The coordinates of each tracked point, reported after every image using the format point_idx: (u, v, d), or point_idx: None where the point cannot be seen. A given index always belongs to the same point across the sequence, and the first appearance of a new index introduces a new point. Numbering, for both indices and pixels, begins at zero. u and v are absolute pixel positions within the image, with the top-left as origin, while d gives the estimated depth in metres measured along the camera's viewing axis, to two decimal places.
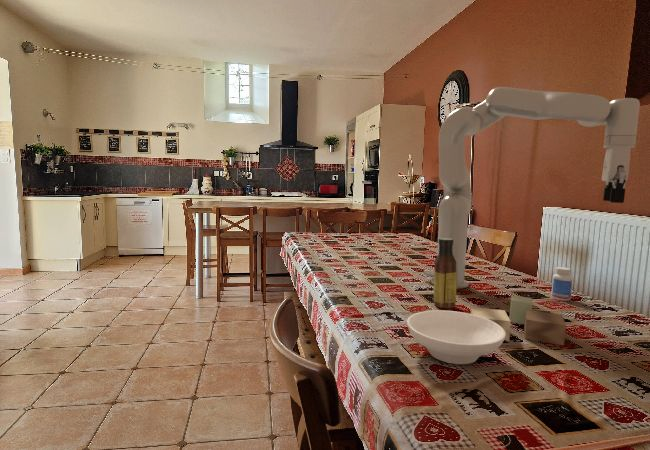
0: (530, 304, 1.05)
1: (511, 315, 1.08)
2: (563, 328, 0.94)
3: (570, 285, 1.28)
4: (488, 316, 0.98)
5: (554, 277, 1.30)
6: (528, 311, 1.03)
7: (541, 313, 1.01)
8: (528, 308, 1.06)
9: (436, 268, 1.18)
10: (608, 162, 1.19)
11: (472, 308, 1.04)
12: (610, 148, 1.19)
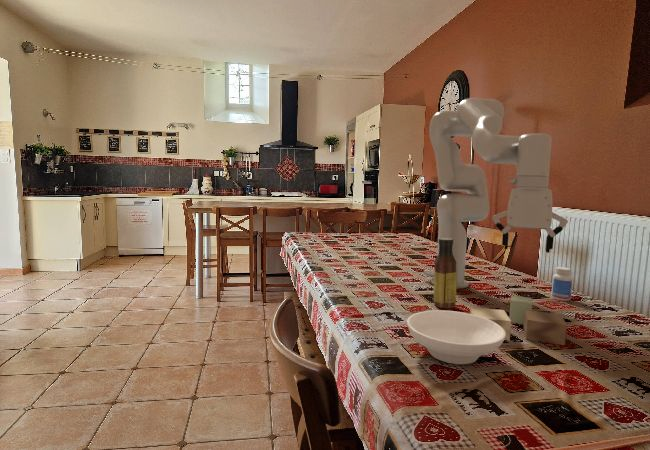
0: (530, 304, 1.06)
1: (511, 315, 1.08)
2: (564, 328, 0.94)
3: (570, 285, 1.28)
4: (488, 316, 0.98)
5: (554, 277, 1.30)
6: (527, 311, 1.02)
7: (540, 313, 1.01)
8: (528, 308, 1.06)
9: (436, 268, 1.18)
10: (544, 207, 1.02)
11: (472, 308, 1.03)
12: (543, 191, 1.02)
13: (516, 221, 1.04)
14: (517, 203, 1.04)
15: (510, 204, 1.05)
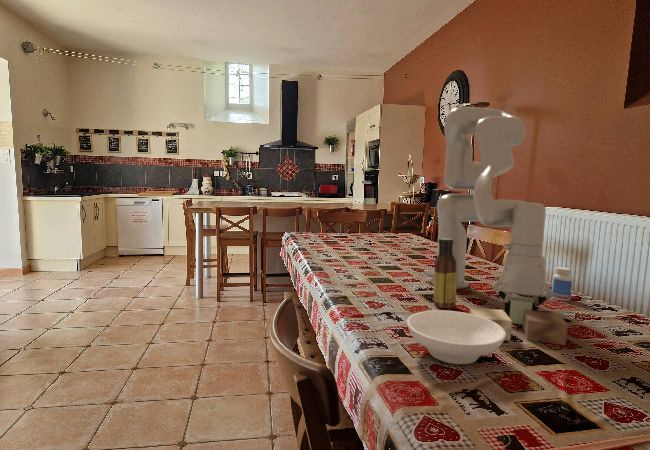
0: (530, 304, 1.05)
1: (511, 315, 1.08)
2: (565, 328, 0.94)
3: (570, 285, 1.28)
4: (489, 316, 0.98)
5: (554, 277, 1.30)
6: (527, 311, 1.02)
7: (540, 313, 1.01)
8: (528, 308, 1.06)
9: (436, 268, 1.18)
10: (537, 275, 1.04)
11: (471, 308, 1.03)
12: (536, 259, 1.04)
13: (510, 287, 1.07)
14: (511, 270, 1.06)
15: (504, 270, 1.07)
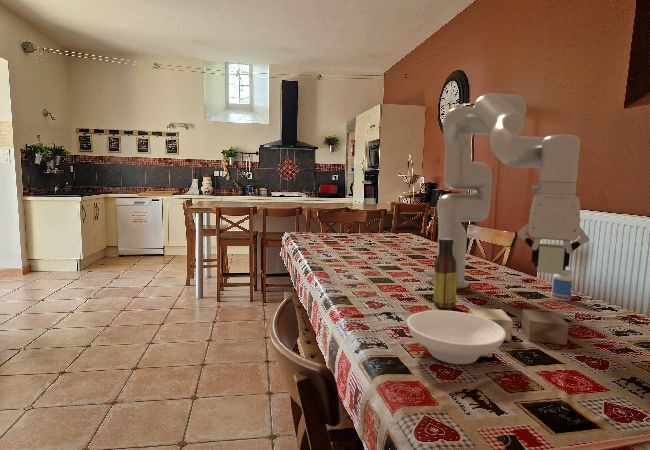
0: (562, 250, 0.93)
1: (540, 263, 0.95)
2: (566, 327, 0.94)
3: (570, 285, 1.28)
4: (489, 316, 0.98)
5: (554, 277, 1.30)
6: (526, 311, 1.02)
7: (539, 313, 1.01)
8: (560, 254, 0.94)
9: (436, 268, 1.18)
10: (571, 216, 0.92)
11: (471, 308, 1.03)
12: (570, 198, 0.92)
13: (539, 231, 0.95)
14: (540, 212, 0.94)
15: (532, 213, 0.95)
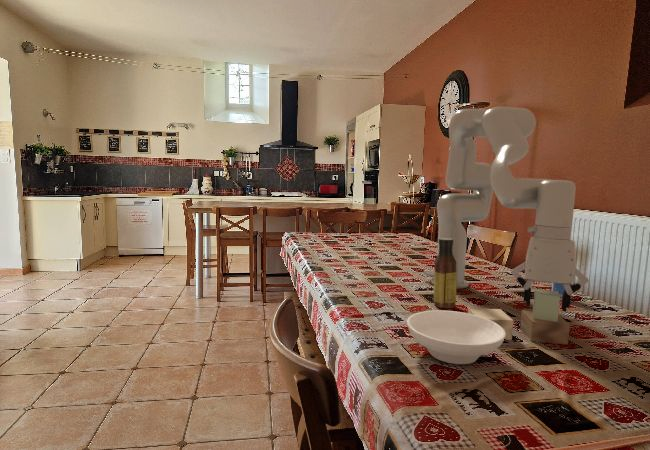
0: (557, 298, 0.95)
1: (536, 310, 0.97)
2: (567, 327, 0.94)
3: (570, 285, 1.28)
4: (490, 316, 0.98)
5: None
6: (525, 312, 1.02)
7: None
8: (555, 302, 0.95)
9: (436, 268, 1.18)
10: (566, 261, 0.93)
11: (470, 309, 1.03)
12: (566, 243, 0.93)
13: (535, 274, 0.96)
14: (537, 255, 0.95)
15: (529, 255, 0.96)
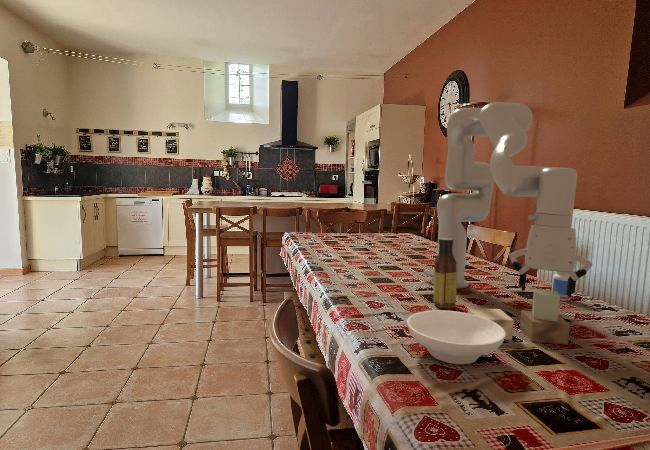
0: (557, 298, 0.95)
1: (536, 310, 0.97)
2: (567, 327, 0.94)
3: None
4: (490, 316, 0.98)
5: (554, 277, 1.30)
6: (525, 312, 1.02)
7: None
8: (555, 302, 0.95)
9: (436, 268, 1.18)
10: (567, 249, 0.93)
11: (470, 309, 1.03)
12: (566, 231, 0.93)
13: (535, 262, 0.96)
14: (537, 243, 0.95)
15: (529, 243, 0.96)
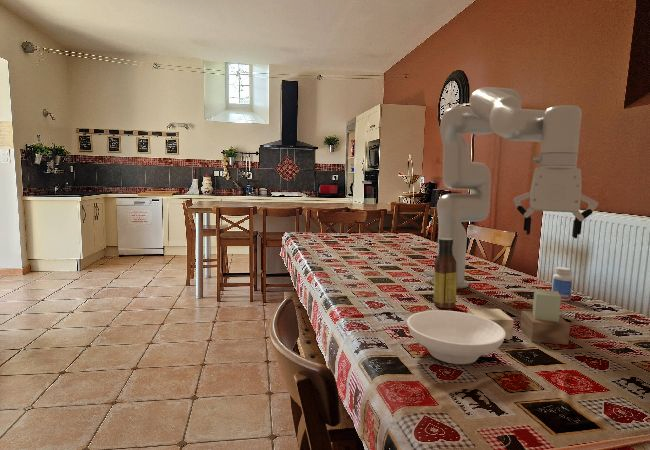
0: (558, 298, 0.95)
1: (537, 311, 0.97)
2: (568, 328, 0.94)
3: (570, 285, 1.28)
4: (491, 316, 0.98)
5: (554, 277, 1.30)
6: (525, 312, 1.02)
7: None
8: (556, 302, 0.95)
9: (436, 268, 1.18)
10: (572, 188, 0.92)
11: (470, 309, 1.03)
12: (571, 169, 0.92)
13: (540, 203, 0.95)
14: (542, 183, 0.94)
15: (534, 185, 0.95)
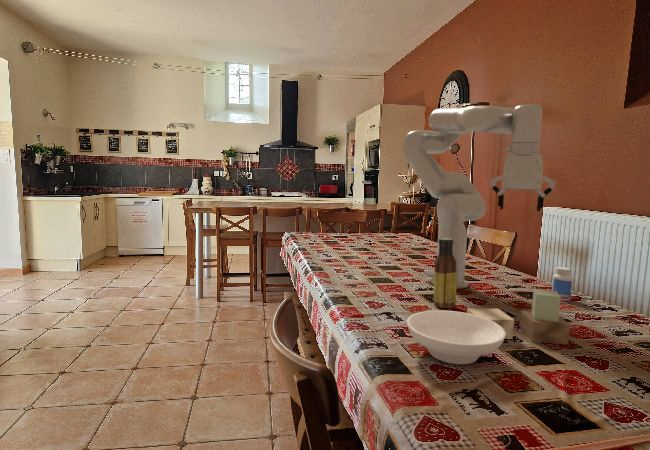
0: (558, 298, 0.95)
1: (536, 311, 0.96)
2: (568, 327, 0.94)
3: (570, 285, 1.28)
4: (491, 317, 0.98)
5: (554, 277, 1.30)
6: (525, 312, 1.02)
7: None
8: (556, 303, 0.95)
9: (436, 268, 1.18)
10: (535, 170, 1.14)
11: (470, 309, 1.03)
12: (534, 155, 1.14)
13: (510, 183, 1.17)
14: (511, 167, 1.17)
15: (505, 168, 1.17)
